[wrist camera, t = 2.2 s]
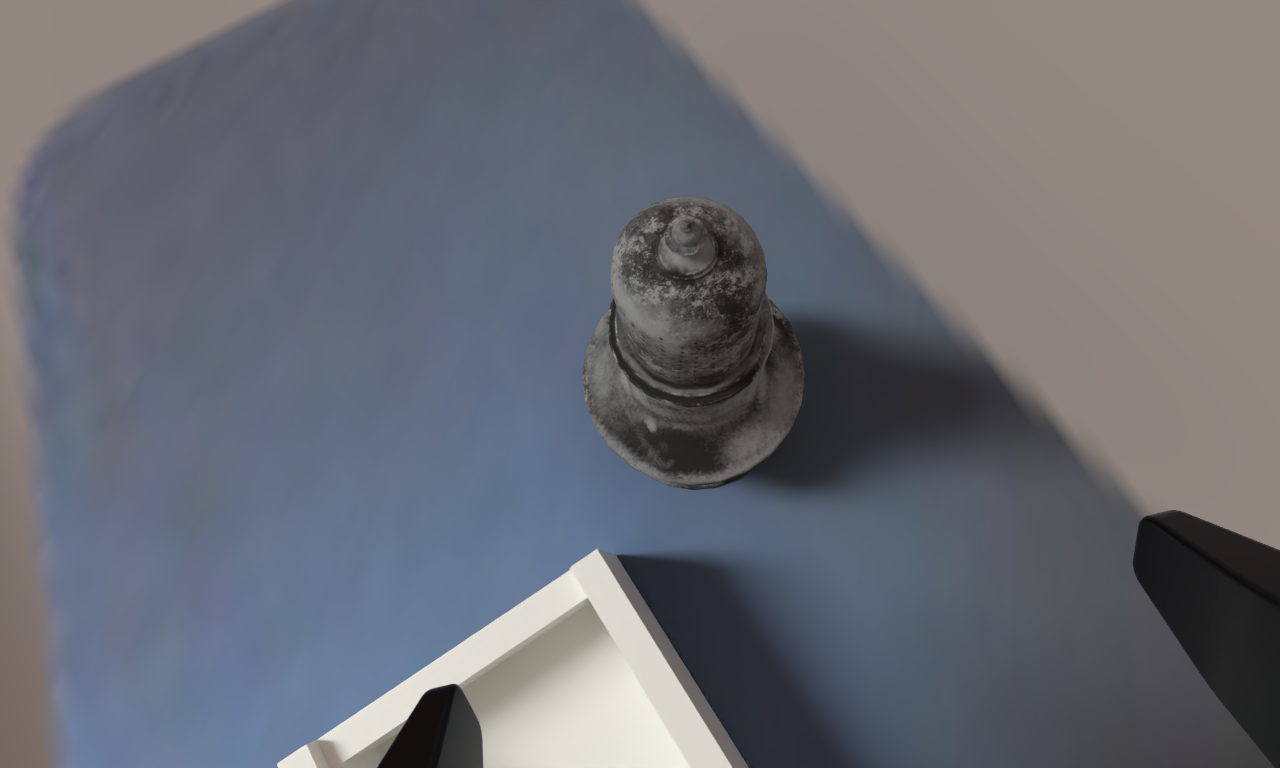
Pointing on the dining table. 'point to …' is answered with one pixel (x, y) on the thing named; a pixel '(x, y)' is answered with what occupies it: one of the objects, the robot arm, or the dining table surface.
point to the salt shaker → (692, 349)
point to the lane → (557, 688)
